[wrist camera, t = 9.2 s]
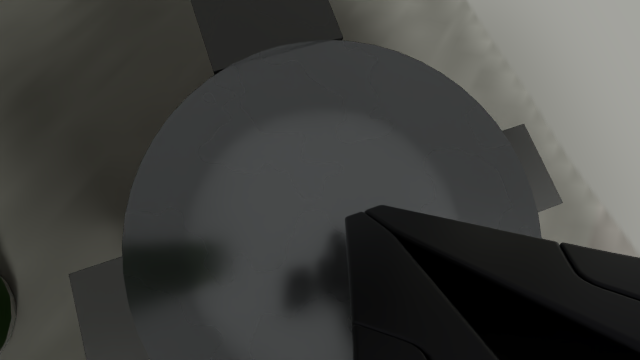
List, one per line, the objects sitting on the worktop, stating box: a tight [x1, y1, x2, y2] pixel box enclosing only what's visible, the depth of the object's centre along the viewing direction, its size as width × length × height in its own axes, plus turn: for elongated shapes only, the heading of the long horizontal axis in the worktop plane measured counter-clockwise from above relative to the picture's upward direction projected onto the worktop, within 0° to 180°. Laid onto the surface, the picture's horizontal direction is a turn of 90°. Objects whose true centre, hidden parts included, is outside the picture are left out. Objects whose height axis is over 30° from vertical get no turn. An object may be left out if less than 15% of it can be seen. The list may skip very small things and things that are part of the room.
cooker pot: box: [69, 124, 563, 360], centre depth 14 cm, size 12×15×6 cm
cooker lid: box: [122, 0, 542, 360], centre depth 11 cm, size 14×11×1 cm
